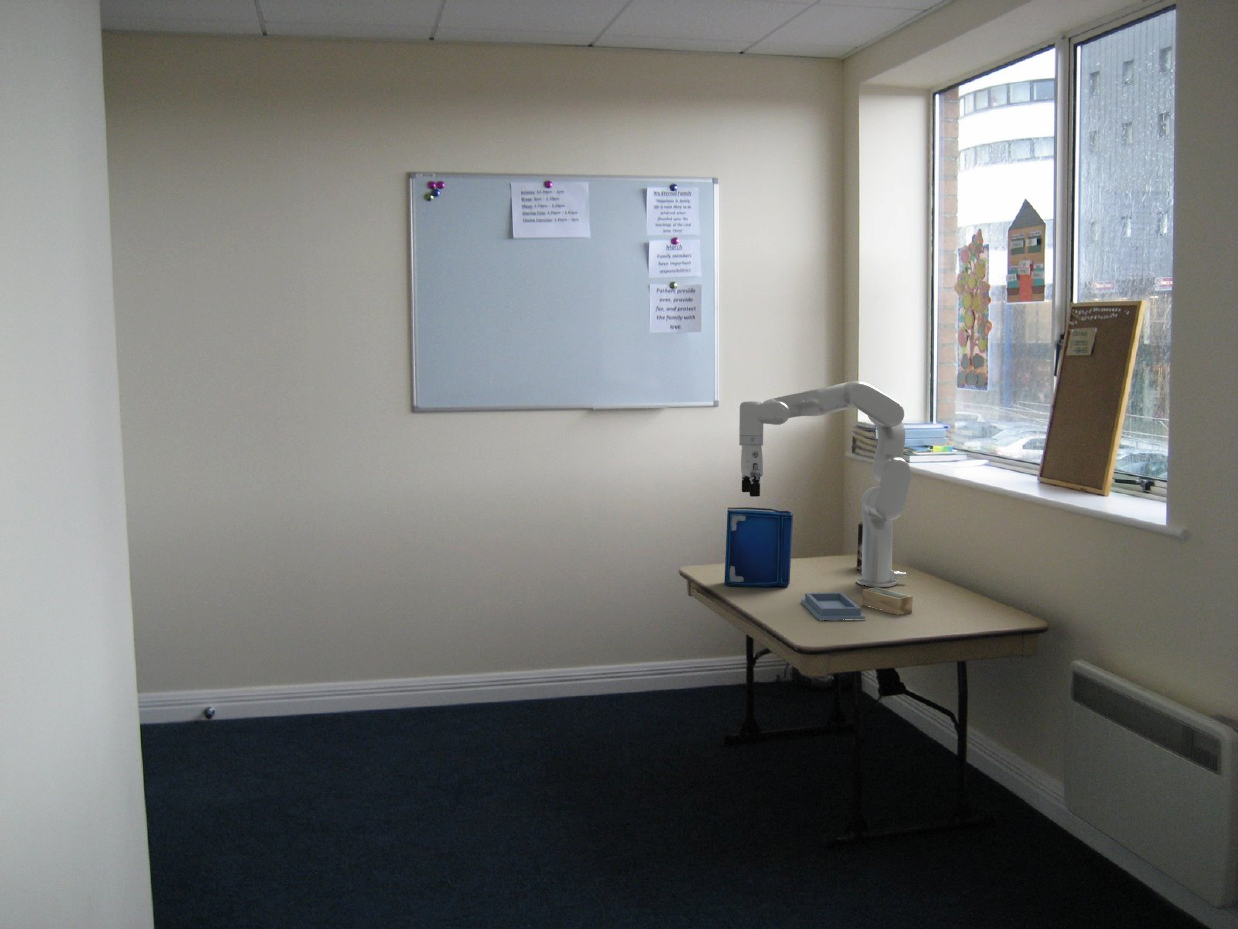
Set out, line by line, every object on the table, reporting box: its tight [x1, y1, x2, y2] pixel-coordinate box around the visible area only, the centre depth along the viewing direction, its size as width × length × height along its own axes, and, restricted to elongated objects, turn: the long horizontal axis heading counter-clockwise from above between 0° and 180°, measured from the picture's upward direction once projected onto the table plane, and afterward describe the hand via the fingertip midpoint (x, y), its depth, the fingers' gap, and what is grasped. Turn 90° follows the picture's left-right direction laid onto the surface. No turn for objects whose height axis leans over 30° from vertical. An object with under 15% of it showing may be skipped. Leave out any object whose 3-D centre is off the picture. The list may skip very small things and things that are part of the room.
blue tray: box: [800, 592, 866, 622], centre depth 320 cm, size 13×22×3 cm, turn 4°
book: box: [723, 506, 794, 588], centre depth 353 cm, size 22×7×25 cm, turn 84°
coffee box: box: [856, 521, 863, 571], centre depth 378 cm, size 9×6×16 cm
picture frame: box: [861, 587, 913, 616], centre depth 323 cm, size 6×14×5 cm, turn 34°
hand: (750, 494), depth 348 cm, fingers open, 9 cm apart
